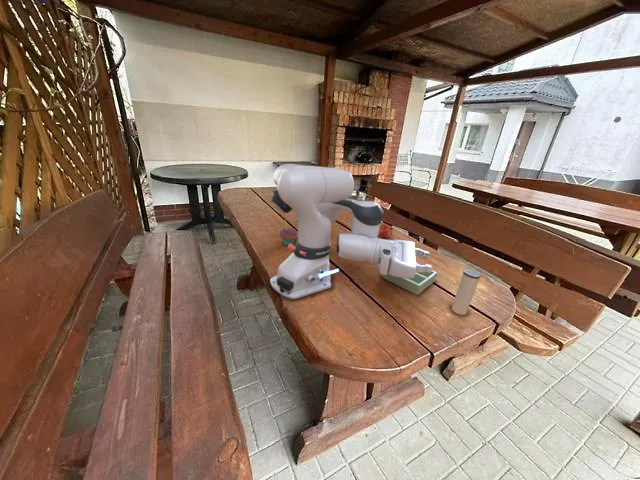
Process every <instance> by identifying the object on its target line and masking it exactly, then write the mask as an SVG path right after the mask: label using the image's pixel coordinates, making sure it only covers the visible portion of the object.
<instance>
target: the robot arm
mask: <svg viewBox="0 0 640 480" xmlns="http://www.w3.org/2000/svg"><path fill="white" fill-rule="evenodd" d="M272 177H273V182H274V184H275V185H276V189H274V190H273V191H272V194H271V197H270V200H271V201H270V202H271V203H272V205H273V207H274V208H275V209H276V210H278V211H279V212H281V213H284V214H288V213H290V212H291V211H292V212H294V215H295V217H296V222H297V233H298V237H297V240H296V241H295V244H291V243H290V244H289V245H287V249H288V250H290V251H292V252H291V253H290V254H289V255H288V256H287V258H286V259H284V261H283V262H281V264H279V266H278V268H277V271H276V272H277V273H276V275H274V276H273V277H271V278H270V280H269V284H270V286H271V287H272V289H273V290H274V291H276V292H277V293H278V294H280V295H281V296H283V297H285V298H288V299H291V300H297V299H300V298H303V297H306V296H309V295H312V294H315V293H320V292H322V291H325V290H328V289H331V287H332V282H331V280H332V276H331V275H332V274H335V273H338V272H339V270H340V269H339V268H336V269H333V270H331V268H330V265H331V263H330V253H331V249H332V248H331V246H332V243H331V232H332V231H331V230H332V225H333V224H334V223H335V222H336V221H337V220H338V218H339V216H340V215H341V211H346V212H350V214H351V218H352V222H351V229H350V231H349V232H348V233H339V234H338V235H337V239H336V250H335V251H336V255H337V256H338V257H340V258H343V259H345V260H349V261H352V262H356V263H367V264H369V265H371V266H376V268H377V269H378V271H379V274H380V275H381V276H382V275H387V274H388V273H389V274H390V275H392V276H396V277H401V278H407V279H411V278H414V277H415V274H416V272H418V273H419V272H429V273H430V272H431V271H432V270H433V266H432V265H431V264H420V263H417V256H420V257H422V258H423V259H429V258H430V251H426V250H423V249H421V248H419V247H416V243H415V242H413V241H411V240H404V239H393V240H391V239H384V238H379V236H380V234H379V229H380V225H381V223H382V220H383V217H384V210H383V208H382V207H381V206H380V204H379V203H378V202H377V201H372V200H363V199H357V198H352V197H351V196H352V194H353V193H354V190H355V189H354V188H355V181H354V177H353V175H352V173H351V172H350V171H349V170H346V169H343V168H337V167H330V166H317V165H302V164H295V163H285V164H282V165H279V166H277V168H276V169H275V170H274V172H273V176H272Z"/></svg>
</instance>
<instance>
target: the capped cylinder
mask: <svg viewBox="0 0 640 480" xmlns="http://www.w3.org/2000/svg"><path fill="white" fill-rule="evenodd" d="M462 272H463V273H462V276H461V279H460V282H459V284H458V287H457V290H456V294H455V295H454V296H455V297H454V299H453V302H452V305H451V310H452V311H453V312H454V313H455V314H458V315H461V316H465V315H467V313H468V311H469V307H470V305H471V302H472V299H473V297H474V294H475V292H476V289H477V286H478V284H479V281H480V279H481V277H482V275H481V273H480V272H479V271H477V270H475V269H471V268H465V269H463V271H462Z"/></svg>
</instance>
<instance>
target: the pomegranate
mask: <svg viewBox="0 0 640 480" xmlns="http://www.w3.org/2000/svg"><path fill="white" fill-rule="evenodd" d="M393 230H394V227H391V226H390V225H388V224H385V223H383V224H380V229H379V236H380V237H381V239H385V240H387V239H388V238H390V237H391V236H392V235H393Z"/></svg>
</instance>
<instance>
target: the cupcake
mask: <svg viewBox="0 0 640 480" xmlns="http://www.w3.org/2000/svg"><path fill="white" fill-rule="evenodd" d="M284 227H285V228H283V229H281V230H280V231H279V233H278V234H279V238H281V241H282V244H283V245H285V246H288V245H289V244H290V243H291V244H293V245H295V244H294V243H295V242H296V239H298V230H296V229H294V228H292V227H288V225H287V221H286V220H284Z"/></svg>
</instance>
